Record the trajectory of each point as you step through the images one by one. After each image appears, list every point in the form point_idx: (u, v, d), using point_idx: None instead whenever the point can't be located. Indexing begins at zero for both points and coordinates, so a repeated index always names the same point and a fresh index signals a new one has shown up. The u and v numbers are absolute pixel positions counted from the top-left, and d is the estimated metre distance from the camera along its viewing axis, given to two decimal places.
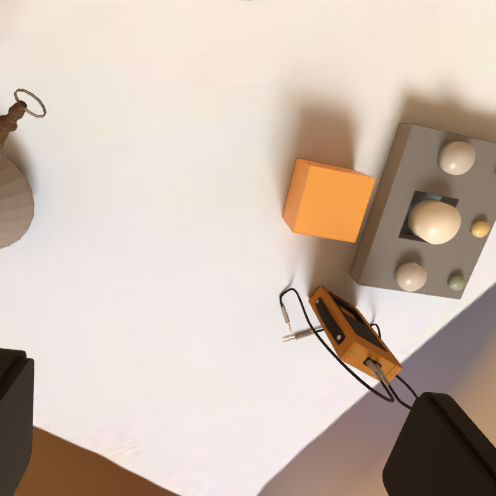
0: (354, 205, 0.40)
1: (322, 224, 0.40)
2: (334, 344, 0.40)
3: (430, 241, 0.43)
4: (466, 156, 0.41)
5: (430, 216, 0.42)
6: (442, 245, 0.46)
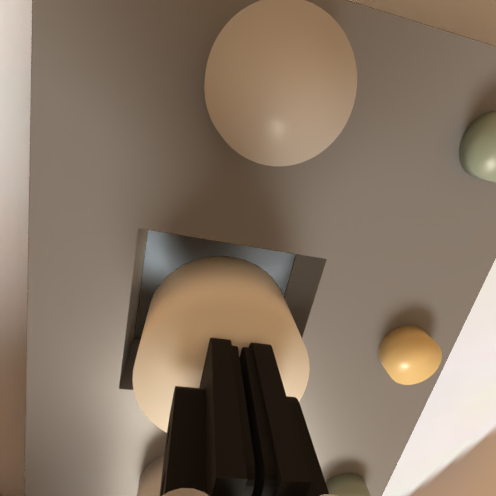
0: None
1: None
2: None
3: None
4: (311, 76, 0.08)
5: (162, 351, 0.09)
6: None
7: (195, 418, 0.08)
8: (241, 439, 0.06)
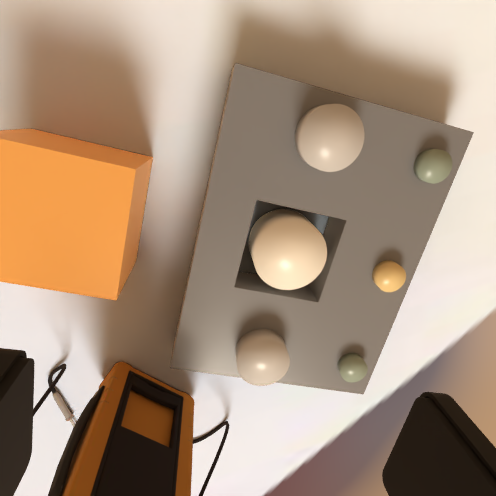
0: (98, 225, 0.19)
1: (34, 262, 0.19)
2: None
3: (274, 284, 0.24)
4: (345, 134, 0.20)
5: (267, 241, 0.23)
6: (322, 303, 0.25)
7: None
8: None
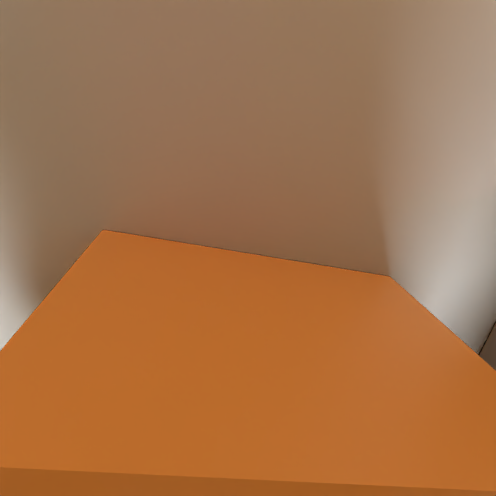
0: None
1: None
2: None
3: None
4: None
5: None
6: None
7: None
8: None
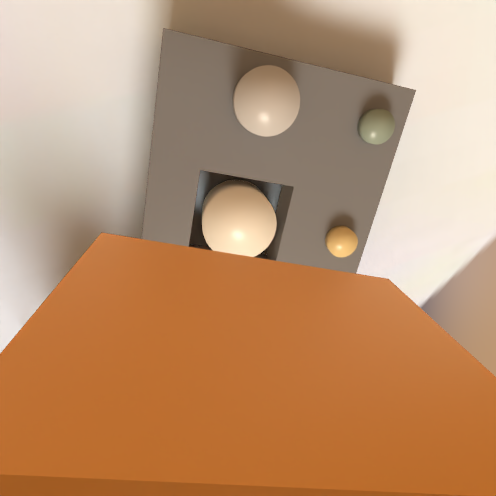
0: None
1: None
2: None
3: None
4: (280, 96, 0.20)
5: (214, 211, 0.23)
6: None
7: None
8: None
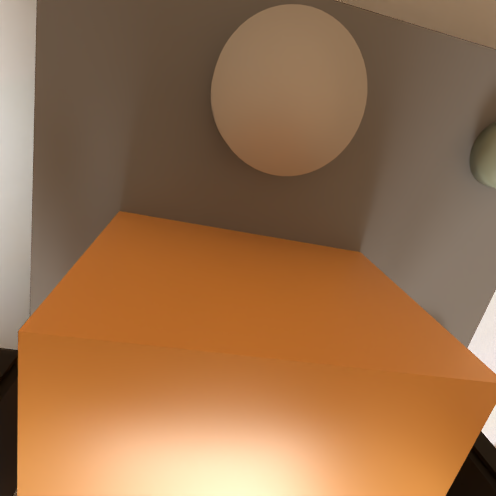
0: None
1: None
2: None
3: None
4: (321, 84, 0.08)
5: None
6: None
7: None
8: None
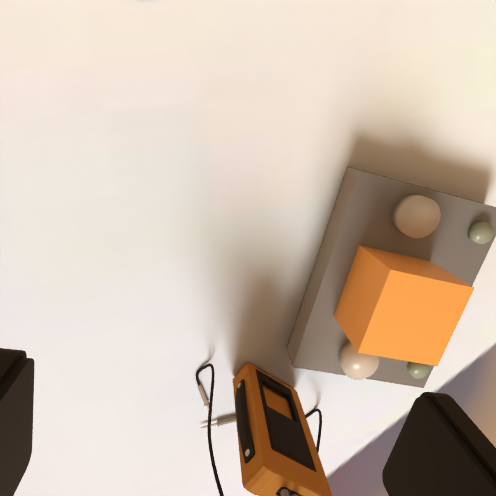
0: (442, 320, 0.29)
1: (397, 343, 0.30)
2: (242, 460, 0.29)
3: None
4: (428, 215, 0.31)
5: None
6: None
7: None
8: None
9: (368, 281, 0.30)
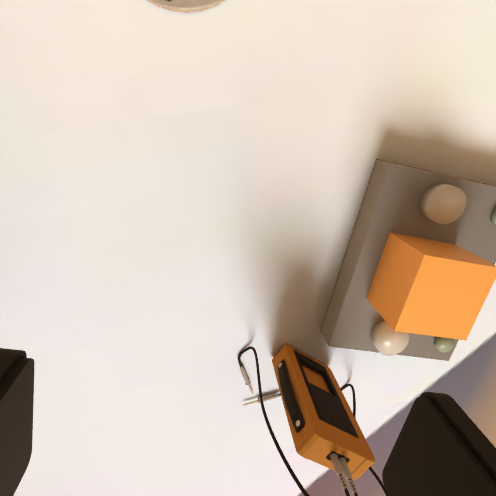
0: (470, 298, 0.32)
1: (430, 321, 0.33)
2: (293, 430, 0.33)
3: None
4: (455, 202, 0.34)
5: None
6: None
7: None
8: None
9: (401, 266, 0.33)
